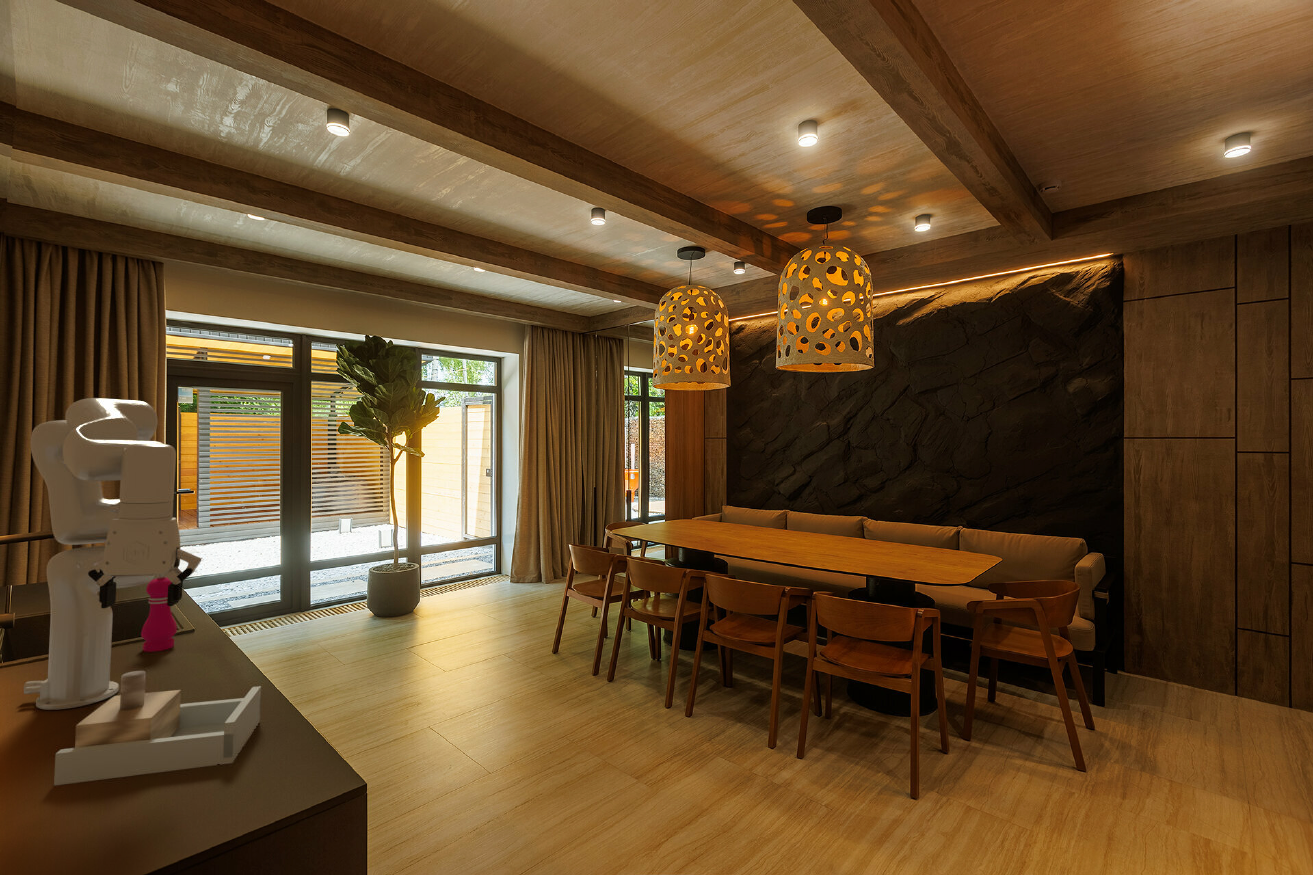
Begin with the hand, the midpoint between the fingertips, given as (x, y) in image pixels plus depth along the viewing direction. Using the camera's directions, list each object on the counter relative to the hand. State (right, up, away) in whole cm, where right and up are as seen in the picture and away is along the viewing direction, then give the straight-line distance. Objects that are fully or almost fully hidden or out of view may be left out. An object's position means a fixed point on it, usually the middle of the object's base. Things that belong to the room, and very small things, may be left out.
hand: (141, 605), depth 109 cm
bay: (+7, -25, -2) cm, 26 cm away
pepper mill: (-37, -25, +48) cm, 66 cm away
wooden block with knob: (+2, -24, -4) cm, 24 cm away
